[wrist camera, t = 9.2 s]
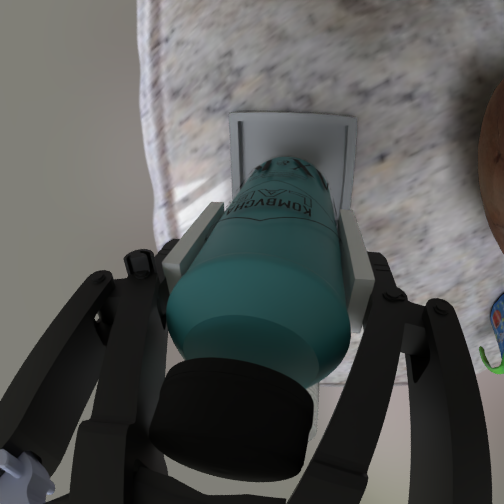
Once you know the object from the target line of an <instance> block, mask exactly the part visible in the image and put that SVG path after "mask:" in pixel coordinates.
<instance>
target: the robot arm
mask: <svg viewBox="0 0 504 504" xmlns="http://www.w3.org/2000/svg"><path fill="white" fill-rule="evenodd" d="M223 214H224V202H211V203H210V204H209V205H208V206H207V208H206V209H205V210H204V211H203V212H202V213H201V215H200V216H199V217H198V218H197V219H196V221H195V222H194V223H193V224H192V226H191V227H190V228H189V229H188V230H187V232H186V233H185V234H184V235H183V236H182V238H181V239H173V240H171V241H169V242H168V243H166V244H165V245H164V246H163V248H162V249H161V250H160V251H159V252H158V254H157V255H156V256H155V257H154V253H153V252H152V251H151V250H147V249H140V250H135V251H133V252H130V253H129V254H127V255H126V256H125V257H124V262H125V266H126V270H127V273H128V277H127V278H125V279H113V276H112V273H111V272H110V271H106V270H102V271H96V272H94V273H93V274H91V275H90V276H89V277H88V278H87V279H86V280H85V281H84V283H82V285H81V286H80V287H79V288H78V290H77V291H76V292H75V293H74V294H73V296H72V297H71V298H70V299H69V301H68V302H67V303H66V305H65V306H64V307H63V308H62V310H61V311H60V312H59V314H58V315H57V316H56V318H55V319H54V320H53V322H52V323H51V324H50V326H49V327H48V328H47V330H46V331H45V333H44V334H43V335H42V337H41V338H40V340H39V341H38V343H37V344H36V345H35V347H34V348H33V350H32V351H31V353H30V354H29V356H28V357H27V359H26V360H25V362H24V363H23V365H22V366H21V368H20V369H19V371H18V373H17V374H16V376H15V377H14V379H13V381H12V382H11V384H10V386H9V387H8V389H7V391H6V392H5V394H4V396H3V398H2V399H1V401H0V504H286V499H285V498H273V497H265V496H264V497H263V496H257V495H249V494H243V495H206V494H202V493H201V492H199V491H197V490H195V489H193V488H191V487H189V486H187V485H185V484H184V483H182V482H180V481H178V480H176V479H174V478H173V477H170V476H168V471H167V466H166V463H165V460H164V454H163V453H162V452H160V451H159V450H158V449H157V448H156V447H155V446H154V445H153V444H152V443H151V441H150V439H149V427H150V424H151V421H152V418H153V415H154V412H155V409H156V407H157V404H158V401H159V393H160V390H161V387H162V384H163V382H164V380H165V369H166V353H167V338H168V327H167V321H166V308H167V302H168V299H169V296H170V294H171V292H172V290H173V288H174V287H175V285H176V283H177V282H178V281H179V280H180V278H181V277H182V276H183V275H184V274H185V273H186V272H187V270H188V269H189V267H190V266H191V264H192V263H193V261H194V260H195V258H196V257H197V255H198V253H199V252H200V250H201V249H202V247H203V246H204V244H205V243H206V240H205V239H206V238H205V237H207V240H208V238H209V236H210V234H211V232H212V231H213V229H214V228H215V226H216V225H217V223H216V222H218V221H219V220H220V219H221V217H222V216H223ZM214 221H215V222H214ZM215 223H216V224H215ZM338 223H339V224H338V227H337V231H338V232H337V233H339V234H338V237H339V236H340V237H339V238H341V240H342V241H340V239H339V238H338V239H339V245H340V252H341V265H342V273H343V281H344V289H345V298H346V308H347V312H348V315H349V319H350V325H351V333H360V331H361V328H362V325H363V329H364V333H363V336H362V339H361V342H360V344H359V347H358V350H357V353H356V356H355V359H354V362H353V365H352V367H351V370H350V373H349V375H348V378H347V381H346V383H345V386H344V388H343V391H342V393H341V396H340V398H339V401H338V403H337V406H336V408H335V410H334V413H333V415H332V417H331V419H330V422H329V424H328V426H327V428H326V430H325V433H324V435H323V437H322V439H321V441H320V443H319V445H318V447H317V449H316V451H315V453H314V455H313V457H312V459H311V461H310V463H309V465H308V467H307V469H306V470H305V472H304V474H303V476H302V478H301V480H300V481H299V483H298V485H297V487H296V488H295V490H294V492H293V493H292V495H291V497H290V498H289V500H288V502H287V504H359V503H360V501H361V498H362V496H363V494H364V491H365V489H366V486H367V482H368V475H367V471H368V467H369V465H370V462H371V459H372V456H373V454H374V451H375V448H376V445H377V442H378V439H379V436H380V432H381V429H382V426H383V423H384V419H385V416H386V412H387V408H388V404H389V401H390V397H391V393H392V389H393V385H394V380H395V376H396V371H397V366H398V361H399V356H400V352H402V353H405V358H406V367H407V376H408V387H409V401H410V421H411V470H410V489H409V500H408V504H492V478H491V462H490V451H489V442H488V435H487V428H486V422H485V416H484V411H483V406H482V401H481V397H480V391H479V387H478V383H477V380H476V375H475V371H474V367H473V364H472V360H471V357H470V353H469V350H468V347H467V344H466V341H465V337H464V334H463V331H462V329H461V326H460V323H459V320H458V317H457V315H456V312H455V310H454V308H453V306H452V305H451V304H450V303H448V302H447V301H445V300H443V299H438V298H432V299H430V300H428V302H427V303H426V306H422V305H418V304H415V303H412V302H410V301H408V298H407V295H406V294H405V292H404V291H402V290H401V289H400V288H397V286H396V284H395V281H394V278H393V275H392V273H391V270H390V267H389V265H388V262H387V260H386V258H385V257H384V256H383V255H382V254H381V253H377V252H367V251H366V248H365V245H364V242H363V239H362V235H361V232H360V229H359V227H358V224H357V221H356V218H355V215H354V212H353V210H344V209H340V210H339V219H338ZM212 225H213V226H212ZM211 226H212V227H211ZM208 232H209V233H208ZM207 234H208V235H207ZM341 242H342V243H343V244H342V243H341ZM343 249H344V251H343ZM96 314H98V315H99V319H98V320H97V321H95V319H94V318H95V316H96ZM98 379H99V380H98ZM97 381H98V385H97V390H96V395H95V400H94V405H93V410H92V415H91V418H90V419H89V420H86V421H82V423H81V424H80V425H79V428H78V431H77V437H76V443H75V450H74V457H73V465H72V473H71V483H70V493H68V494H66V495H64V496H61V497H59V498H56V499H54V500H51V501H49V502H45V500H46V494H49V495H50V494H53V493H54V491H55V485H54V483H53V482H52V481H51V480H50V477H51V476H52V475H53V473H54V472H55V471H56V469H57V467H58V466H59V464H60V462H61V460H62V458H63V456H64V454H65V452H66V450H67V447H68V445H69V442H70V440H71V438H72V435H73V433H74V431H75V428H76V426H77V424H78V422H79V419H80V417H81V415H82V413H83V410H84V408H85V406H86V404H87V402H88V400H89V398H90V396H91V393H92V391H93V389H94V387H95V385H96V383H97Z"/></svg>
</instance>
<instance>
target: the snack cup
mask: <svg viewBox="0 0 504 504" xmlns="http://www.w3.org/2000/svg"><path fill="white" fill-rule="evenodd" d="M491 324H492V326H493V330H494V333H495V336H496V339H497V343H498V346H499V349H500V352H501V358H502V362H501V365H500V366H499V367H495V368H491V366H490V364H489V362H488V360H487V358H486V356H485V353H484V349H483V347H481V346H480V347H479V351H480V356H481V359H482V361H483V363H484V364H485V366H486V367H487V368H488V369H489V370H490V371H491V372H493V373H495V374H504V294H503V295H502V296H501V297H500V298H499V300H498V301H497V302H496V303H495V304H494V305H493V309H492V312H491Z"/></svg>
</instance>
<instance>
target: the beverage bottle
mask: <svg viewBox="0 0 504 504" xmlns="http://www.w3.org/2000/svg"><path fill="white" fill-rule="evenodd" d="M280 156H282V155H280ZM289 156H291V155H289ZM289 156H286V157H285V156H284V157H283V156H282V157H277V158H276V157H275V156H274V158H273V159H271V158H270V160H269V158H268V161H267V160H266V162H264V163H263V164H260V165H259V166H258V165H257V167H256V168H255V169H256V170H255V171H254V172H253V173H252V174H251V176H250V177H249V179H248V180H247V181H246V183H245V182H244V181H245V180H244V181H243V182H244V183H245V184H244V183H242V184H241V185H240V187H242V185H243V184H244V186H243V187H242V188H241V190H240V191H239V193H238V194H237V196H236V197H235V198H234V200H233V201H232V203H231V202H230V201H229V202H230V203H231V204H230V203H229V204H230V206H229V207H228V205H229V204H228V205H227V206H226V207H228V209H227V210H226V211H225V212H224V214H223V216H222V217H221V219H220V220H219V221H218V222H216V223H217V225H216V226H215V228H214V229H213V231H212V232H211V234H210V236H209V238H208V240H207V237H205V238H206V239H205V240H206V243H205V244H204V246H203V247H202V249H201V250H200V252H199V253H198V255H197V257H196V258H195V260H194V261H193V263H192V264H191V266H190V267H189V269H188V270H187V272H186V273H185V274H184V275H183V276H182V277H181V278H180V280H179V281H178V282H177V283H176V285H175V287H174V288H173V290H172V292H171V294H170V296H169V299H168V302H167V308H166V321H167V327H168V331H169V333H170V336H171V338H172V340H173V342H174V344H175V346H176V347H177V349H178V351H179V353H180V354H181V355H182V357H183V358H184V359H185V361H182V362H180V363H178V364H176V365H175V366H173V367H172V368H171V369H170V370H169V372H168V373H167V375H166V377H165V380H164V382H163V384H162V387H161V390H160V393H159V401H158V404H157V407H156V409H155V412H154V415H153V418H152V421H151V424H150V427H149V439H150V441H151V443H152V444H153V445H154V446H155V447H156V448H157V449H158V450H159V451H160V452H162V453H163V454H165V455H166V456H167V457H169V458H171V459H172V460H174V461H176V462H178V463H180V464H182V465H185V466H187V467H189V468H191V469H194V470H197V471H200V472H203V473H206V474H209V475H213V476H217V477H221V478H226V479H232V480H239V481H247V482H274V481H281V480H286V479H289V478H292V477H294V476H296V475H297V474H299V472H300V471H301V468H302V466H303V465H304V460H305V454H306V449H307V444H308V438H309V433H310V431H311V428H312V425H313V416H314V402H313V399H312V397H311V395H310V394H309V392H308V391H307V390H306V389H307V388H309V387H311V386H313V385H315V384H316V383H318V382H320V381H321V380H322V379H324V378H325V377H327V376H328V375H329V374H330V373H331V372H332V371H334V370H335V369H336V368H337V366H338V365H339V364H340V363H341V362H342V360H343V358H344V357H345V355H346V353H347V350H348V348H349V344H350V339H351V325H350V319H349V315H348V312H347V308H346V298H345V289H344V281H343V273H342V265H341V252H340V245H339V239H340V241H342V240H341V238H339V237H340V236H339V237H338V234H339V233H337V232H338V231H337V227H336V226H337V224H336V222H335V216H334V208H335V204H334V205H332V201H331V196H330V191H329V187H328V185H329V184H328V183H327V182H326V181H328V179H327V180H325V178H324V177H323V175H322V174H321V173H320V171H319V170H318V169H316V168H317V167H316V168H315V167H314V166H313V164H312V165H311V163H308V162H307V161H308V160H307V161H305V160H306V159H305V160H302V159H300V158H301V157H300V158H299V159H298V158H296V157H297V156H296V157H295V158H294V157H289ZM309 162H310V161H309ZM315 166H316V165H315ZM253 170H254V169H253ZM253 170H252V171H253ZM252 171H251V172H252ZM251 172H250V173H251ZM250 173H249V174H250ZM323 174H324V173H323ZM246 178H247V177H246ZM240 187H239V188H240ZM330 187H331V186H330ZM239 188H238V189H239ZM238 189H237V190H238ZM330 189H331V188H330ZM332 198H333V196H332ZM333 202H334V199H333ZM333 206H334V207H333ZM226 207H225V208H226ZM335 211H336V208H335ZM336 216H337V213H336ZM214 222H215V221H214ZM216 223H215V224H216ZM338 224H339V223H338ZM212 226H213V225H212ZM212 226H211V227H212ZM208 233H209V232H208ZM207 235H208V234H207ZM338 238H339V239H338ZM341 243H342V242H341ZM342 244H343V243H342ZM343 251H344V249H343Z"/></svg>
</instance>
